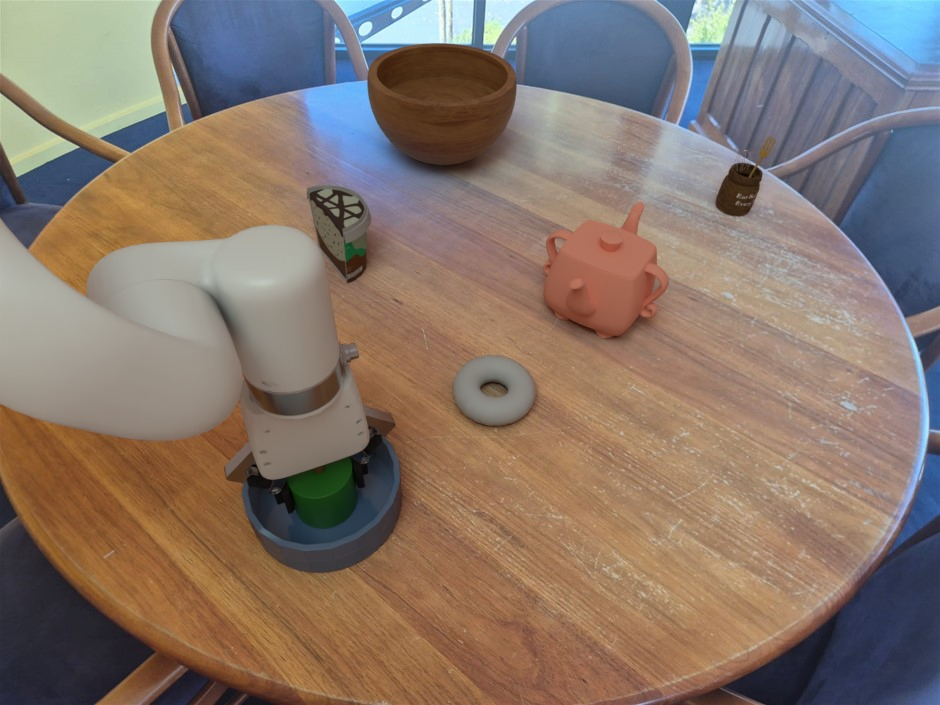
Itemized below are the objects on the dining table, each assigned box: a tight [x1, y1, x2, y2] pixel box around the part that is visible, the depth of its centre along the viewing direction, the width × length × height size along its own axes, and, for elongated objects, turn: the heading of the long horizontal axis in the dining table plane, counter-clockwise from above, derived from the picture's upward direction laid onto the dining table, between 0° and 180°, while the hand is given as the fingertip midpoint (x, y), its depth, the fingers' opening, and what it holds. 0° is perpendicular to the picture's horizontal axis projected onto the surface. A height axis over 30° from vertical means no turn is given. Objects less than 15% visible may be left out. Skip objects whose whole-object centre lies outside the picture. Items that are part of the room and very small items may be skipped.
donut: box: [452, 354, 537, 427], centre depth 74 cm, size 10×4×10 cm
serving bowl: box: [241, 426, 403, 574], centre depth 63 cm, size 15×15×5 cm
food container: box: [306, 184, 372, 284], centre depth 89 cm, size 12×6×10 cm, turn 34°
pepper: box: [286, 456, 358, 529], centre depth 62 cm, size 6×6×7 cm
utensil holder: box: [715, 135, 777, 217], centre depth 101 cm, size 6×6×12 cm
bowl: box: [366, 42, 518, 166], centre depth 108 cm, size 25×25×15 cm
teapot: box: [542, 201, 670, 339], centre depth 82 cm, size 15×17×13 cm
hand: (323, 487), depth 63 cm, fingers closed on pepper, 6 cm apart
